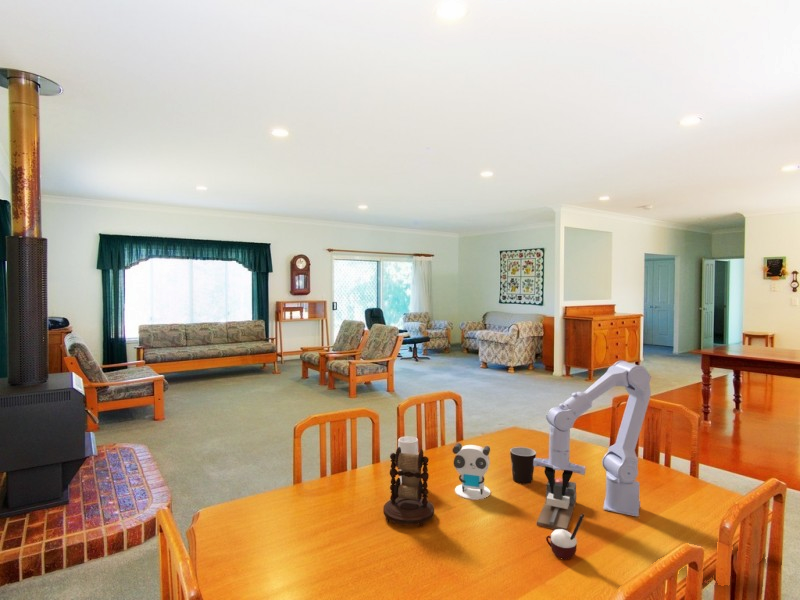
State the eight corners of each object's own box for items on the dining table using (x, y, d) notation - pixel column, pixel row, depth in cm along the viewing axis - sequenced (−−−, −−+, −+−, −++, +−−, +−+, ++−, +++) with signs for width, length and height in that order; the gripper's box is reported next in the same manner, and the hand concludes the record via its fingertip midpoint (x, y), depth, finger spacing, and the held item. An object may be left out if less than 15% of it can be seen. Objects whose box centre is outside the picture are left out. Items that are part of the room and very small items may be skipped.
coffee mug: (529, 487, 158) (530, 458, 158) (505, 481, 164) (505, 452, 163) (542, 476, 168) (543, 448, 167) (519, 470, 173) (519, 442, 172)
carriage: (569, 503, 143) (569, 483, 143) (567, 509, 139) (568, 488, 139) (548, 499, 146) (549, 479, 145) (546, 504, 142) (546, 484, 142)
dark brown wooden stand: (438, 508, 144) (439, 442, 143) (428, 533, 130) (428, 460, 129) (391, 501, 148) (391, 437, 147) (376, 525, 134) (376, 454, 133)
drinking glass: (418, 487, 158) (418, 443, 157) (397, 487, 158) (397, 442, 157) (417, 479, 165) (418, 436, 164) (398, 478, 165) (398, 435, 164)
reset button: (568, 485, 149) (568, 479, 148) (566, 490, 145) (566, 483, 145) (556, 483, 150) (556, 477, 150) (554, 487, 147) (554, 481, 147)
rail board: (576, 502, 148) (577, 483, 148) (567, 532, 131) (568, 510, 130) (549, 496, 152) (549, 477, 152) (536, 525, 134) (537, 504, 134)
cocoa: (542, 550, 123) (540, 504, 122) (562, 544, 125) (560, 499, 125) (568, 569, 114) (566, 519, 114) (589, 563, 116) (587, 514, 116)
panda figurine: (449, 496, 152) (449, 449, 151) (456, 481, 163) (457, 438, 162) (487, 502, 148) (488, 454, 148) (492, 487, 159) (493, 442, 158)
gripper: (531, 448, 142) (530, 493, 142) (583, 457, 135) (582, 504, 136) (536, 441, 148) (535, 484, 149) (586, 449, 141) (585, 494, 142)
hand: (558, 493), depth 143 cm, fingers closed on carriage, 2 cm apart
